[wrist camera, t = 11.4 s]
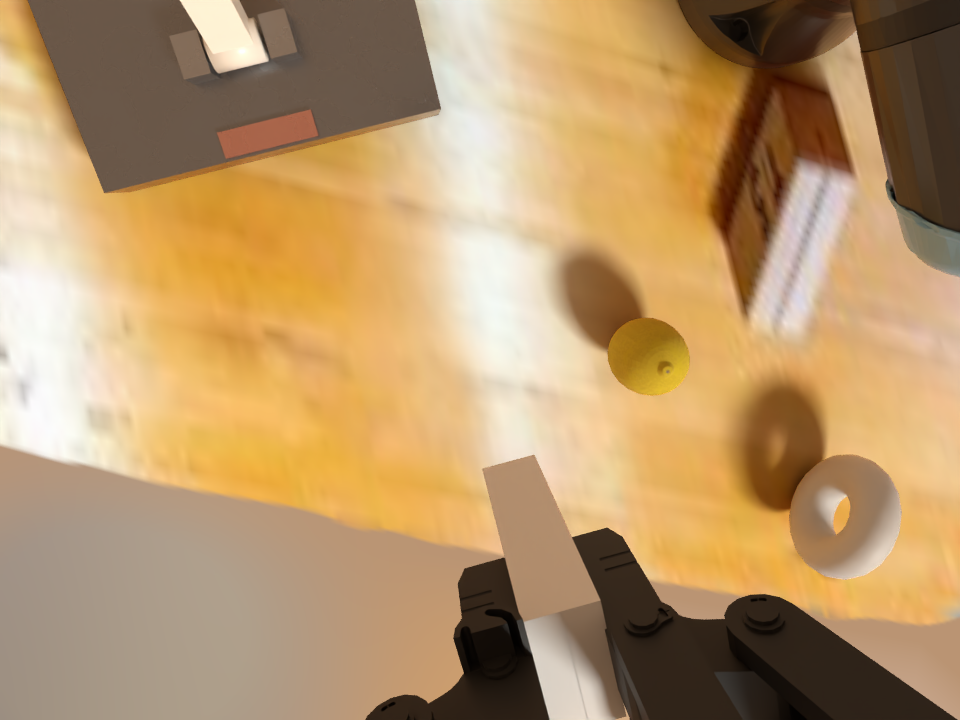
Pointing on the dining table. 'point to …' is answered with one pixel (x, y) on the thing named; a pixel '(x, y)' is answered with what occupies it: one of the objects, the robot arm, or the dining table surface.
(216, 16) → the lever
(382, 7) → the box
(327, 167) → the dining table surface
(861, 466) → the donut
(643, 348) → the lemon
